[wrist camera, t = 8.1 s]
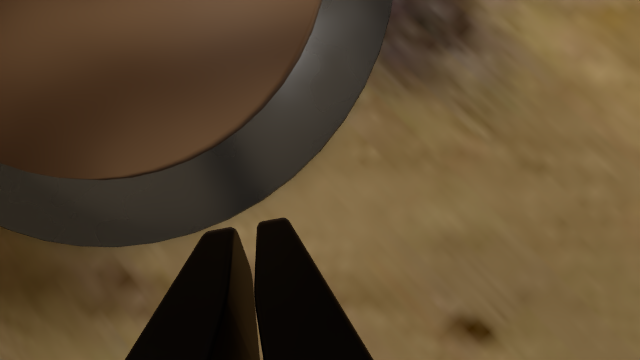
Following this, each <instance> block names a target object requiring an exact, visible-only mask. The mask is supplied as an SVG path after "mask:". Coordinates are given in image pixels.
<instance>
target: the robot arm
mask: <svg viewBox="0 0 640 360" xmlns="http://www.w3.org/2000/svg"><path fill="white" fill-rule="evenodd" d="M254 297H255V301H254ZM255 307H256V312H255ZM256 314H257V321H258V327H259V334H260V340H261V347H262V353H263V360H373V358H372V357H371V355H370V353H369V352H368V350H367V348H366V347H365V345H364V343H363V342H362V340H361V339H360V337H359V335H358V334H357V332H356V330H355V329H354V327H353V325H352V324H351V322H350V320H349V319H348V317H347V315H346V314H345V312H344V311H343V309H342V307H341V306H340V304H339V302H338V301H337V299H336V297H335V296H334V294H333V292H332V291H331V289H330V287H329V286H328V284H327V283H326V281H325V279H324V278H323V276H322V274H321V273H320V271H319V269H318V268H317V266H316V264H315V263H314V261H313V260H312V258H311V256H310V255H309V253H308V251H307V250H306V248H305V246H304V245H303V243H302V241H301V240H300V238H299V236H298V235H297V233H296V232H295V230H294V228H293V227H292V225H291V223H290V222H289V220H288V219H286V218H278V219H273V220H267V221H262V222H260V223H259V224H258V226H257V237H256V259H255V281H254V290H253V279H252V273H251V269H250V265H249V262H248V260H247V257H246V254H245V251H244V248H243V246H242V243H241V240H240V237H239V235H238V232H237V231H236V229H234V228H232V227H228V228H223V229H217V230H212V231H208V232H206V233H205V234H204V235H203V236H202V237H201V239H200V240H199V242H198V244H197V245H196V247H195V248H194V250H193V252H192V253H191V255H190V256H189V258H188V260H187V261H186V263H185V264H184V266H183V268H182V269H181V271H180V272H179V274H178V276H177V277H176V279H175V280H174V282H173V284H172V285H171V287H170V288H169V290H168V292H167V293H166V295H165V296H164V298H163V300H162V301H161V303H160V304H159V306H158V308H157V309H156V311H155V312H154V314H153V316H152V317H151V319H150V320H149V322H148V324H147V325H146V327H145V328H144V330H143V332H142V333H141V335H140V336H139V338H138V339H137V341H136V343H135V344H134V346H133V347H132V349H131V351H130V352H129V354H128V355H127V357H126V359H125V360H260V356H259V345H258V334H257V323H256Z"/></svg>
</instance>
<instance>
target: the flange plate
mask: <svg viewBox="0 0 640 360" xmlns="http://www.w3.org/2000/svg"><path fill="white" fill-rule="evenodd" d="M321 3H322V0H0V163H1V164H5V165H8V166H11V167H14V168H17V169H20V170H23V171H26V172H30V173H35V174H41V175H46V176H52V177H57V178H69V179H88V180H111V179H122V178H133V177H138V176H142V175H146V174H151V173H155V172H159V171H163V170H166V169H168V168H171V167H174V166H176V165H179V164H182V163H184V162H187V161H190V160H192V159H194V158H195V157H197V156H199V155H201V154H203V153H205V152H207V151H209V150H211V149H212V148H214V147H216V146H218V145H219V144H221V143H222V142H223V141H225V140H226V139H228V138H229V137H230V136H232V135H233V134H235V133H236V132H237V131H239V130H240V129H242V128H243V127H244V126H245V125H246V124H247V123H248V122H249V121H250V120H251V119H252V118H253V117H254V116H256V115H257V114H258V113H259V112H260V111H261V110H262V109H263V108H264V107H265V106H266V105H267V103H268V102H269V101H270V100H271V99H272V97H273V96H274V95H275V94H276V93H277V91H278V90H279V89H280V88H281V87H282V85H283V84H284V83H285V81H286V79H287V78H288V76H289V75H290V73H291V72H292V70H293V68H294V67H295V65H296V64H297V62H298V61H299V59H300V57H301V55H302V53H303V51H304V48H305V46H306V44H307V42H308V40H309V38H310V36H311V33H312V31H313V28H314V25H315V22H316V19H317V16H318V13H319V9H320V6H321Z"/></svg>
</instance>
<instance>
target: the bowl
mask: <svg viewBox="0 0 640 360" xmlns="http://www.w3.org/2000/svg"><path fill="white" fill-rule="evenodd" d="M391 6H392V0H322V3H321V6H320V9H319V13H318V16H317V19H316V22H315V25H314V28H313V31H312V33H311V36H310V38H309V40H308V42H307V44H306V46H305V48H304V51H303V53H302V55H301V57H300V59H299V61H298V62H297V64H296V65H295V67H294V68H293V70H292V72H291V73H290V75H289V76H288V78H287V79H286V81H285V83H284V84H283V85H282V87H281V88H280V89H279V90H278V91H277V93H276V94H275V95H274V96H273V97H272V99H271V100H270V101H269V102H268V103H267V105H266V106H265V107H264V108H263V109H262V110H261V111H260V112H259V113H258V114H257V115H256V116H254V117H253V118H252V119H251V120H250V121H249V122H248V123H247V124H246V125H245V126H244V127H243V128H242V129H240V130H239V131H237V132H236V133H235V134H233V135H232V136H230V137H229V138H228V139H226V140H225V141H223V142H222V143H221V144H219V145H218V146H216V147H214V148H212V149H211V150H209V151H207V152H205V153H203V154H201V155H199V156H197V157H195V158H194V159H192V160H190V161H187V162H184V163H182V164H179V165H176V166H174V167H171V168H168V169H166V170H163V171H159V172H155V173H151V174H146V175H142V176H138V177H133V178H122V179H111V180H88V179H69V178H57V177H52V176H46V175H41V174H35V173H30V172H26V171H23V170H20V169H17V168H14V167H11V166H8V165H5V164H1V163H0V226H2V227H4V228H6V229H8V230H11V231H14V232H18V233H21V234H24V235H28V236H31V237H34V238H38V239H41V240H44V241H51V242H57V243H63V244H70V245H76V246H93V247H122V246H131V245H139V244H148V243H156V242H161V241H165V240H169V239H173V238H176V237H180V236H184V235H188V234H192V233H196V232H198V231H201V230H203V229H206V228H208V227H211V226H213V225H216V224H218V223H221V222H223V221H226V220H228V219H230V218H232V217H234V216H236V215H238V214H239V213H241V212H243V211H245V210H246V209H248V208H250V207H252V206H253V205H255V204H257V203H259V202H261V201H262V200H264V199H265V198H267V197H268V196H269V195H271V194H272V193H273V192H275V191H276V190H277V189H279V188H280V187H281V186H283V185H284V184H285V183H287V182H288V181H289V180H290V179H292V178H293V177H294V176H295V175H296V174H297V173H298V172H299V171H300V170H301V169H302V168H303V167H305V166H306V165H307V164H308V163H309V162H310V161H311V160H312V159H313V158H314V157H315V156H316V155H317V154H318V153H319V152H320V151H321V150H322V148H323V147H324V146H325V145H326V143H327V142H328V141H329V140H330V138H331V137H332V136H333V134H334V133H335V132H336V131H337V129H338V128H339V127H340V126H341V124H342V123H343V122H344V121H345V119H346V117H347V116H348V114H349V112H350V111H351V109H352V107H353V106H354V104H355V102H356V100H357V99H358V97H359V95H360V94H361V92H362V90H363V89H364V87H365V85H366V82H367V80H368V78H369V75H370V73H371V71H372V68H373V66H374V64H375V61H376V59H377V57H378V55H379V52H380V49H381V45H382V42H383V38H384V35H385V31H386V28H387V24H388V21H389V17H390V13H391Z"/></svg>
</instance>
